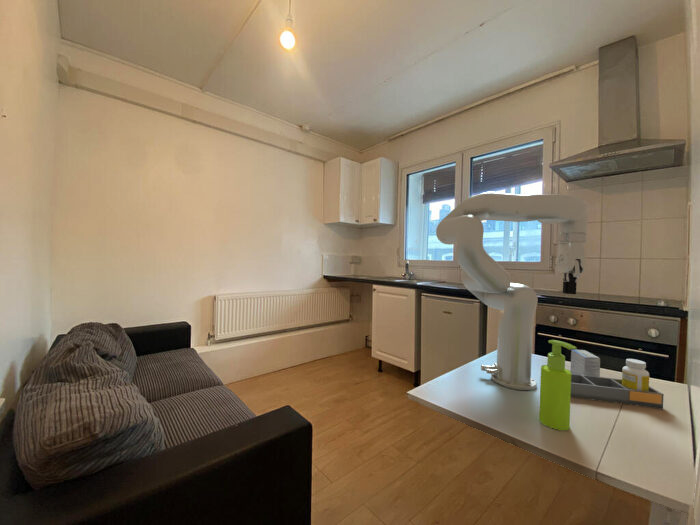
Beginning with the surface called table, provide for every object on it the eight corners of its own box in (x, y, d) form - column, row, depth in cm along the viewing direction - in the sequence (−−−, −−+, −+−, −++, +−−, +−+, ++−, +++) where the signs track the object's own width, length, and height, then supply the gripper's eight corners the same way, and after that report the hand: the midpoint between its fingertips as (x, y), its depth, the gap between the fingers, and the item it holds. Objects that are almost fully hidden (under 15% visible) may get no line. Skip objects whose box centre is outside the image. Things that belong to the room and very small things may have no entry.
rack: (564, 396, 80) (564, 382, 80) (551, 384, 88) (552, 371, 88) (663, 409, 74) (664, 394, 74) (640, 394, 82) (641, 381, 82)
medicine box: (600, 385, 89) (601, 358, 88) (584, 383, 89) (585, 356, 89) (584, 374, 96) (585, 350, 96) (569, 373, 97) (570, 348, 97)
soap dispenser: (561, 435, 62) (564, 347, 62) (533, 418, 69) (536, 338, 69) (580, 431, 64) (583, 345, 64) (551, 414, 71) (554, 336, 70)
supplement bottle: (644, 393, 81) (645, 360, 80) (652, 401, 76) (653, 366, 76) (618, 388, 83) (620, 356, 83) (624, 396, 79) (626, 362, 79)
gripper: (550, 240, 102) (548, 290, 102) (568, 237, 88) (565, 295, 88) (575, 241, 100) (572, 292, 100) (597, 237, 85) (594, 297, 86)
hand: (569, 293), depth 94 cm, fingers closed
